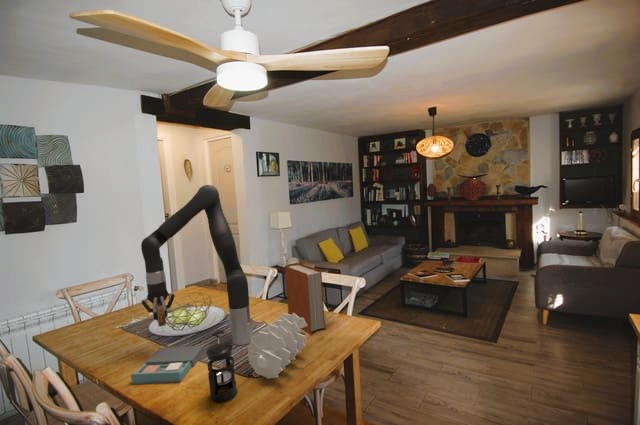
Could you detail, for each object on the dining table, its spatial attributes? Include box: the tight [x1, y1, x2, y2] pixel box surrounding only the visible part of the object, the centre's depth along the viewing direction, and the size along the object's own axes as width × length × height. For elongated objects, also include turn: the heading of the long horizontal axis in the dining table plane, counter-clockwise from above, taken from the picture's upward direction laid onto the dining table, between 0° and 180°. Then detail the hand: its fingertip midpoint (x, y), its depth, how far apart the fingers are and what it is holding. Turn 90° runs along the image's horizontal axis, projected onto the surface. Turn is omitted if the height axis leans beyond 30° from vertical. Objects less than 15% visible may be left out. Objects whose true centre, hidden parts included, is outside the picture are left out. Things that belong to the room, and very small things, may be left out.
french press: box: [205, 330, 238, 404], centre depth 117 cm, size 12×9×23 cm
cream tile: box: [165, 362, 183, 372], centre depth 133 cm, size 5×5×2 cm
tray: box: [130, 362, 193, 385], centre depth 133 cm, size 19×10×4 cm, turn 88°
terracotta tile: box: [141, 365, 161, 373], centre depth 133 cm, size 5×5×2 cm
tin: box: [156, 303, 167, 327], centre depth 147 cm, size 15×3×8 cm, turn 31°
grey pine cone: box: [246, 312, 308, 380], centre depth 134 cm, size 18×18×25 cm
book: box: [284, 262, 326, 336], centre depth 169 cm, size 23×8×30 cm, turn 34°
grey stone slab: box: [144, 345, 205, 368], centre depth 144 cm, size 20×12×3 cm, turn 88°
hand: (160, 318), depth 147 cm, fingers closed on tin, 2 cm apart
